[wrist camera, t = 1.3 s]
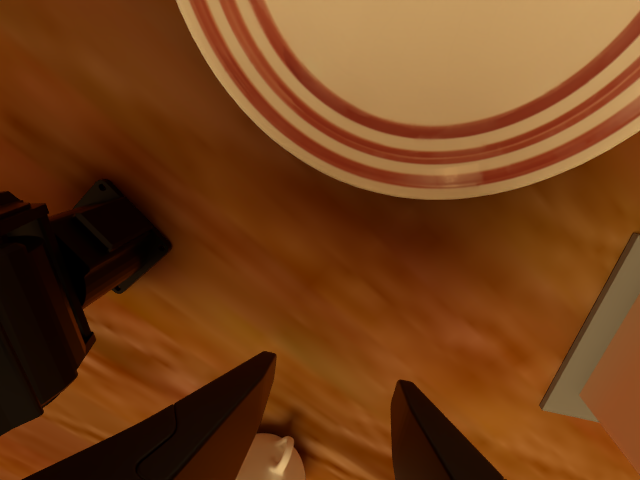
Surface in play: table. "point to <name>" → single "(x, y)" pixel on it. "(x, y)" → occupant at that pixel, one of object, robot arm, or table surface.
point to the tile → (619, 387)
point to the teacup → (272, 459)
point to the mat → (596, 336)
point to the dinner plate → (430, 85)
